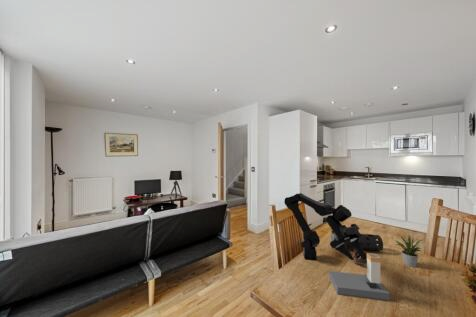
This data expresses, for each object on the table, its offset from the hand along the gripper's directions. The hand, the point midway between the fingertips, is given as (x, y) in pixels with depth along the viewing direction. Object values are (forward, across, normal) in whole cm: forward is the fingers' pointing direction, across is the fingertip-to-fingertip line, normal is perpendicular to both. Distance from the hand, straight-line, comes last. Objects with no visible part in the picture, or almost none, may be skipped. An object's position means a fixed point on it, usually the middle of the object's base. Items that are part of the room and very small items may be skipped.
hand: (358, 257), depth 87 cm
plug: (+10, 0, +1) cm, 10 cm away
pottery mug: (+3, +21, +16) cm, 27 cm away
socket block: (+10, -3, +8) cm, 13 cm away
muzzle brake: (-5, +35, +24) cm, 43 cm away
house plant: (+13, +44, +5) cm, 46 cm away
